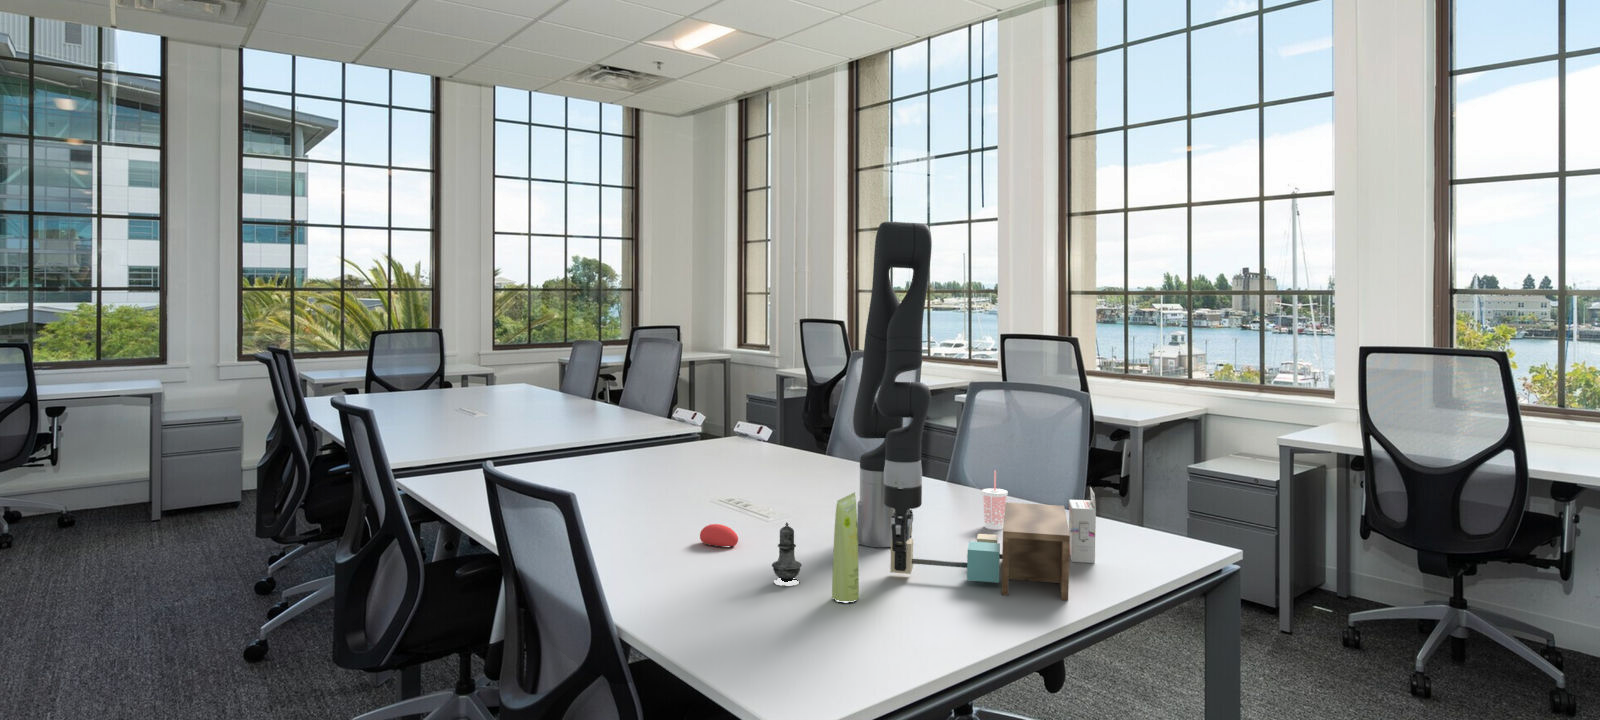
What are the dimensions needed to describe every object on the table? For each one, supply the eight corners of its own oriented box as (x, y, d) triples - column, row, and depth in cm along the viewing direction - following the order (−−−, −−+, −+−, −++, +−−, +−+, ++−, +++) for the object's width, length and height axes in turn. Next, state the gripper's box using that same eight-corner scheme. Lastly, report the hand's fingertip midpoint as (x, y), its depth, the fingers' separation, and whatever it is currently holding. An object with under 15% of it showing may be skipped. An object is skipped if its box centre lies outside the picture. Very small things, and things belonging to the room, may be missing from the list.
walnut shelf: (1001, 594, 166) (1002, 531, 165) (1004, 558, 189) (1005, 502, 188) (1068, 600, 163) (1069, 535, 162) (1062, 562, 186) (1064, 505, 185)
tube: (863, 604, 160) (864, 498, 159) (836, 606, 159) (837, 499, 158) (854, 594, 166) (855, 491, 164) (828, 596, 165) (828, 493, 163)
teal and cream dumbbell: (889, 573, 174) (890, 544, 173) (893, 564, 179) (894, 536, 179) (998, 582, 169) (999, 551, 168) (999, 573, 174) (999, 543, 174)
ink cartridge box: (1067, 551, 195) (1068, 485, 194) (1090, 552, 194) (1092, 486, 193) (1070, 562, 187) (1072, 493, 186) (1095, 563, 186) (1097, 494, 185)
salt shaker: (779, 589, 168) (780, 527, 168) (766, 580, 174) (766, 520, 173) (806, 584, 171) (807, 523, 170) (793, 576, 176) (793, 517, 176)
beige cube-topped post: (976, 568, 182) (976, 539, 182) (977, 560, 188) (978, 532, 187) (1051, 574, 178) (1052, 545, 178) (1050, 565, 184) (1051, 537, 184)
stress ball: (717, 558, 193) (732, 533, 193) (690, 537, 198) (704, 512, 198) (730, 560, 198) (744, 536, 198) (703, 539, 203) (717, 515, 203)
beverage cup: (1010, 526, 216) (1011, 469, 215) (1002, 531, 211) (1003, 474, 210) (986, 522, 219) (987, 467, 219) (977, 528, 214) (978, 471, 213)
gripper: (888, 474, 182) (888, 555, 184) (878, 488, 169) (877, 576, 170) (925, 476, 181) (924, 558, 182) (918, 490, 167) (916, 579, 168)
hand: (901, 566), depth 176 cm, fingers closed on teal and cream dumbbell, 4 cm apart
